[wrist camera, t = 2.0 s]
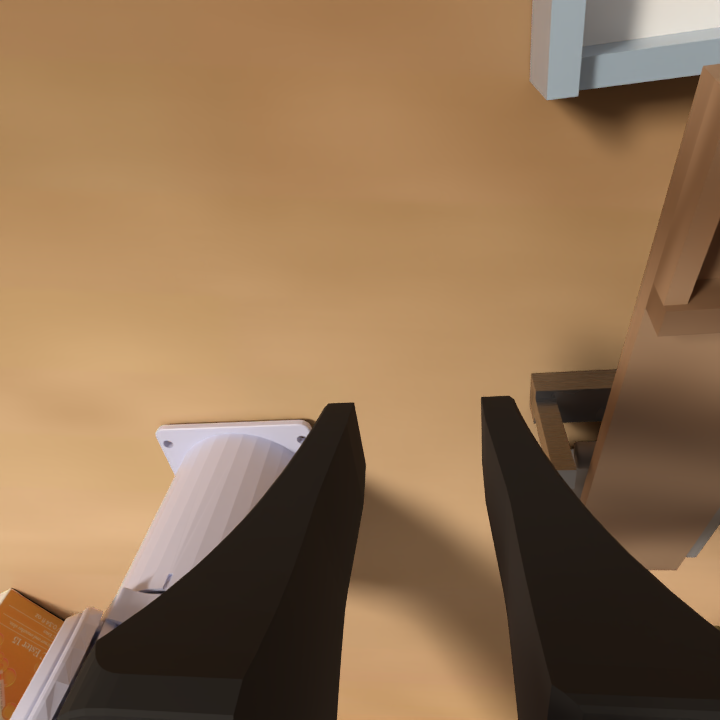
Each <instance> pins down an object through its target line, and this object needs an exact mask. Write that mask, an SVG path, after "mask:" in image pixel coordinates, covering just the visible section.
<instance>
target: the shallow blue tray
mask: <svg viewBox="0 0 720 720" xmlns="http://www.w3.org/2000/svg"><path fill="white" fill-rule="evenodd" d="M714 64H720V0H533V2H532V30H531V58H530V82H531V83H532V84H533V85H534V86H535V88H536V89H537V90H538V91H539V92H540V93H541V94H542V95H543V97H544V98H545V99H546V100H552V99H560V98H568V97H576V96H578V93H579V90H586V89H594V88H601V87H609V86H617V85H625V84H632V83H640V82H648V81H655V80H663V79H671V78H678V77H686V76H694V75H701V71H702V68H703V66H706V65H714Z"/></svg>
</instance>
